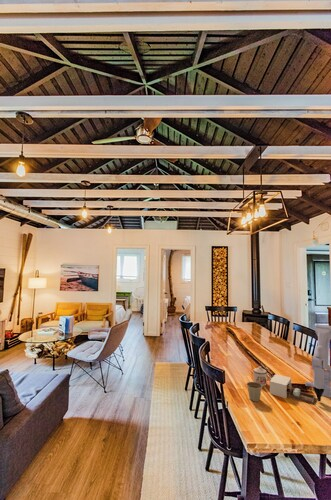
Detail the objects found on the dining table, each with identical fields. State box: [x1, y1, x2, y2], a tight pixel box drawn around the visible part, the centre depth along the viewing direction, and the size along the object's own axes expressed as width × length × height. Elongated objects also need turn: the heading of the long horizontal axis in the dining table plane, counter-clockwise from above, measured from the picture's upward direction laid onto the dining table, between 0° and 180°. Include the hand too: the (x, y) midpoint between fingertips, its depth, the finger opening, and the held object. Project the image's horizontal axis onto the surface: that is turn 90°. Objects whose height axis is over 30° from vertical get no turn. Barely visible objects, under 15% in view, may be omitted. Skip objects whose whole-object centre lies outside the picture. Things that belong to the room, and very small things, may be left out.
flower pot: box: [246, 381, 263, 402], centre depth 164 cm, size 9×9×9 cm
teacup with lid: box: [252, 365, 272, 387], centre depth 186 cm, size 12×9×12 cm
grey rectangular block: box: [269, 373, 292, 399], centre depth 174 cm, size 15×10×8 cm
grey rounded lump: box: [292, 389, 300, 398], centre depth 167 cm, size 4×4×4 cm
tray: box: [287, 388, 316, 405], centre depth 166 cm, size 10×14×2 cm
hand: (319, 400), depth 161 cm, fingers closed
